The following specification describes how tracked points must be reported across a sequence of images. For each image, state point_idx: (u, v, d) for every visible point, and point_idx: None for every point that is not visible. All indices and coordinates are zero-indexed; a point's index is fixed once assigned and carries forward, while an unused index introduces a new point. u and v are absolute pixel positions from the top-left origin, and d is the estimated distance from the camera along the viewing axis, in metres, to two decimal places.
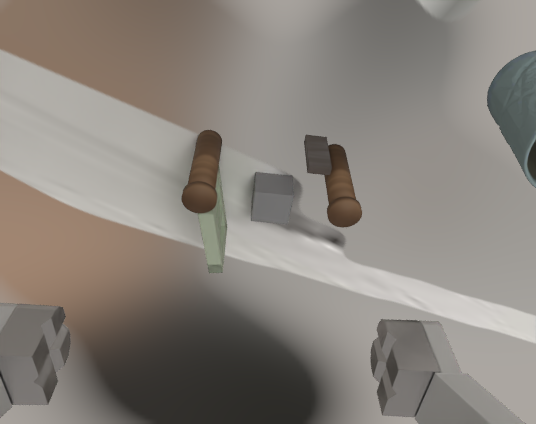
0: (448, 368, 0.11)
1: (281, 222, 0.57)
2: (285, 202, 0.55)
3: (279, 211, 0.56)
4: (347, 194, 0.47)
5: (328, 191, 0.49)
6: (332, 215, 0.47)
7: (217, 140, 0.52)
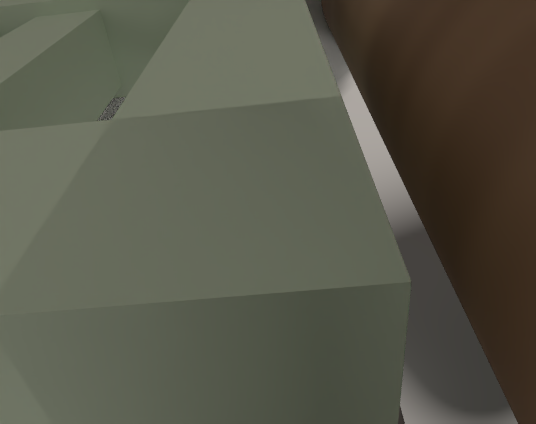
0: None
1: None
2: None
3: None
4: None
5: None
6: None
7: None
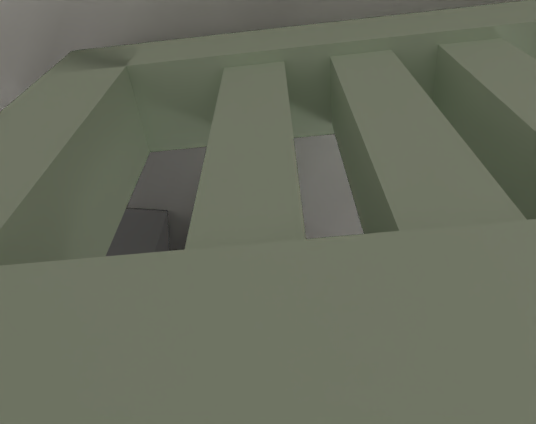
0: None
1: None
2: None
3: None
4: None
5: None
6: None
7: None
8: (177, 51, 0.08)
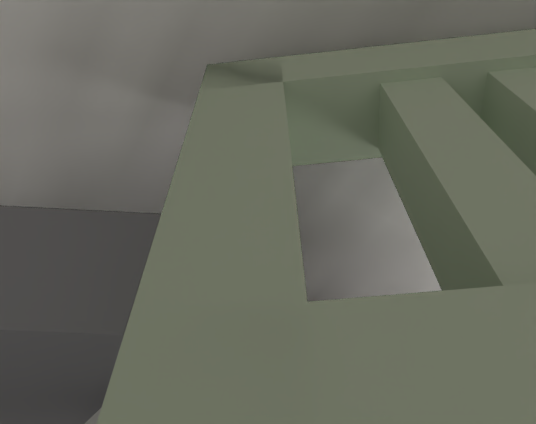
0: None
1: None
2: None
3: None
4: None
5: None
6: None
7: None
8: (326, 67, 0.08)
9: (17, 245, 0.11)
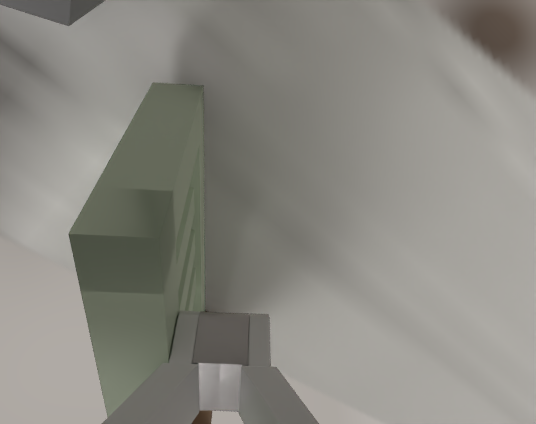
0: (257, 361, 0.10)
1: None
2: None
3: None
4: None
5: None
6: None
7: None
8: (201, 159, 0.16)
9: None
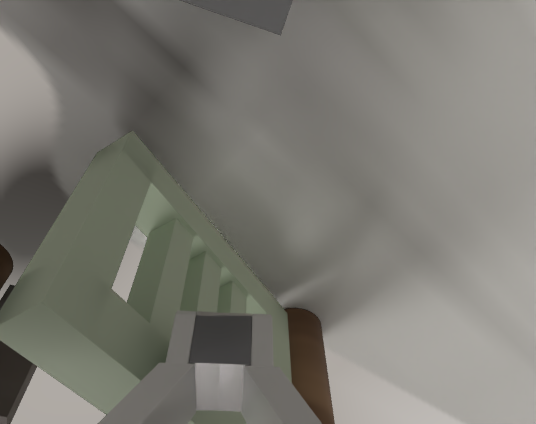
0: (260, 361, 0.10)
1: None
2: None
3: None
4: None
5: None
6: None
7: None
8: (168, 190, 0.16)
9: None
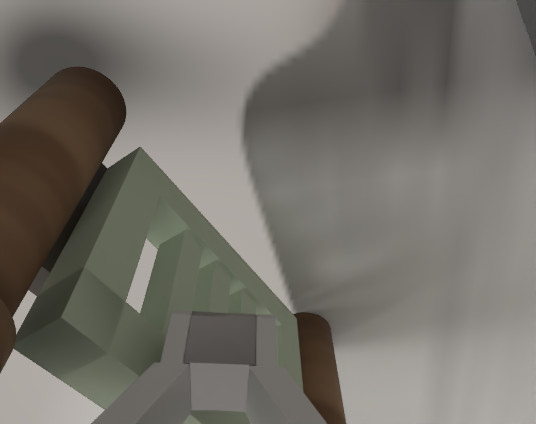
0: (265, 361, 0.10)
1: None
2: None
3: None
4: None
5: None
6: None
7: None
8: (176, 203, 0.17)
9: None
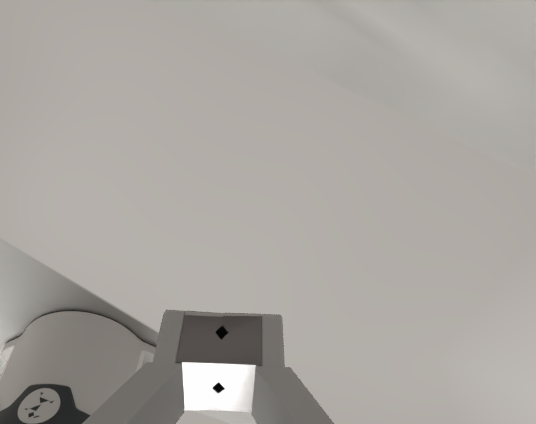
0: (271, 362, 0.10)
1: None
2: None
3: None
4: None
5: None
6: None
7: None
8: None
9: None
